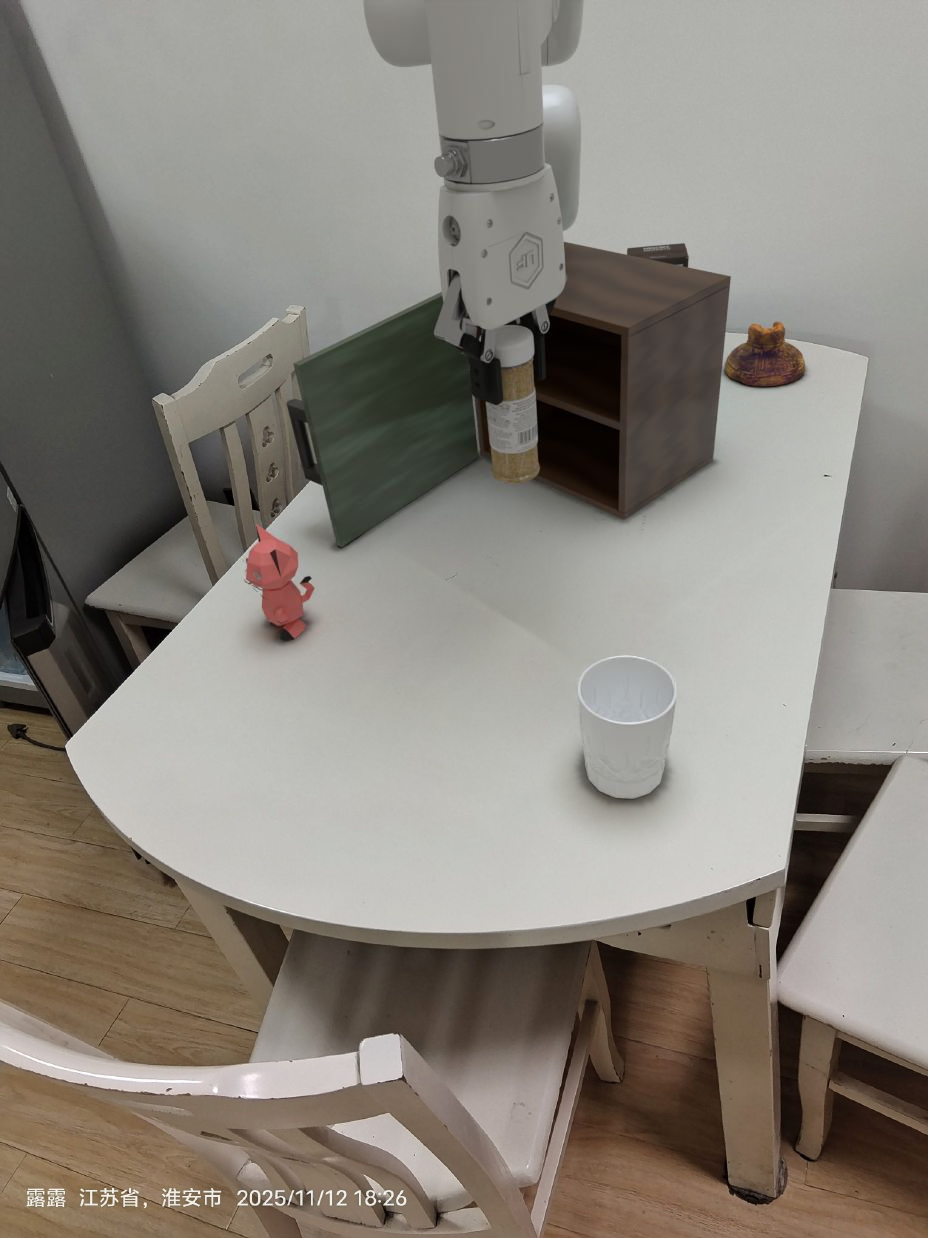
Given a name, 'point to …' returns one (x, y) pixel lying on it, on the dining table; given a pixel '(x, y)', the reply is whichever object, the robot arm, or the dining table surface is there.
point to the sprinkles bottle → (514, 409)
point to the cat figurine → (278, 583)
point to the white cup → (626, 723)
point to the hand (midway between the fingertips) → (509, 385)
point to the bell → (765, 358)
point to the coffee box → (663, 253)
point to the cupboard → (627, 379)
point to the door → (383, 417)
